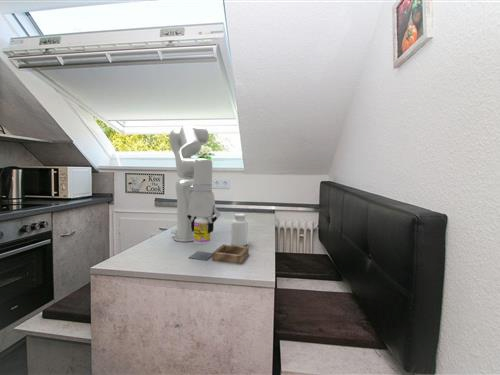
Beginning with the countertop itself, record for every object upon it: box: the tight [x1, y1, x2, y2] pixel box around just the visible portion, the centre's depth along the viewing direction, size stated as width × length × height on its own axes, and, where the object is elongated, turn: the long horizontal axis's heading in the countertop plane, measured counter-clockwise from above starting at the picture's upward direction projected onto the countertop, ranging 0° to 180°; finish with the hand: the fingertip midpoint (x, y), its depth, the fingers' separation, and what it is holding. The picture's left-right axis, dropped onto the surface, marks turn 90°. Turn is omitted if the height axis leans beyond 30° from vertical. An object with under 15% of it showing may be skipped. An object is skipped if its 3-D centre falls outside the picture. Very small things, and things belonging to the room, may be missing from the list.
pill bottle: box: [230, 213, 249, 247], centre depth 116 cm, size 8×8×15 cm
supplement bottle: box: [193, 217, 211, 245], centre depth 97 cm, size 7×7×13 cm
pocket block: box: [211, 244, 250, 265], centre depth 98 cm, size 12×12×3 cm
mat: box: [188, 250, 213, 261], centre depth 98 cm, size 8×8×1 cm
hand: (202, 231), depth 98 cm, fingers closed on supplement bottle, 6 cm apart
